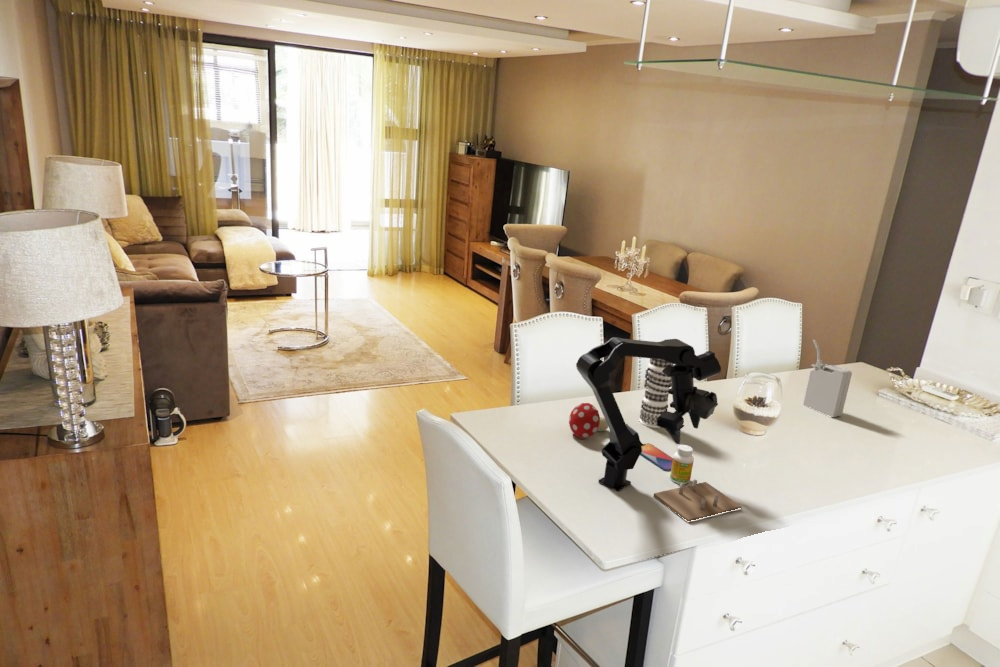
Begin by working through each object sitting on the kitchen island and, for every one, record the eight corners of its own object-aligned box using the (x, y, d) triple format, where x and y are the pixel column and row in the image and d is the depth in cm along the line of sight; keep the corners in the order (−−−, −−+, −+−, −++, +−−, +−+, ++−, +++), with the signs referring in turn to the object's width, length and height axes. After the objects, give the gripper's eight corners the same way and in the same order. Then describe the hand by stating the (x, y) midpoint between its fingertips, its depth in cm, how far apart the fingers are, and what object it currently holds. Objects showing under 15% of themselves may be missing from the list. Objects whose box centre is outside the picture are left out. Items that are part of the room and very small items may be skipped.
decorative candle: (669, 429, 215) (681, 356, 208) (640, 427, 215) (651, 354, 208) (663, 418, 224) (674, 347, 217) (635, 415, 224) (646, 345, 217)
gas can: (796, 402, 249) (810, 338, 242) (805, 400, 251) (820, 337, 244) (832, 418, 236) (848, 351, 229) (841, 416, 238) (857, 350, 231)
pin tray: (687, 523, 162) (690, 508, 161) (653, 496, 173) (655, 483, 172) (741, 509, 170) (744, 495, 169) (705, 485, 181) (707, 472, 180)
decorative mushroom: (610, 401, 212) (581, 393, 202) (625, 430, 205) (595, 423, 195) (587, 420, 217) (556, 414, 207) (600, 449, 210) (570, 444, 200)
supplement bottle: (676, 485, 180) (681, 453, 177) (666, 475, 185) (671, 443, 182) (693, 484, 181) (699, 451, 178) (683, 474, 186) (688, 443, 183)
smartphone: (664, 473, 187) (665, 470, 187) (630, 449, 199) (631, 446, 199) (684, 469, 191) (684, 465, 190) (649, 446, 203) (649, 442, 203)
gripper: (690, 408, 165) (695, 461, 170) (728, 376, 176) (731, 427, 182) (652, 398, 173) (658, 449, 178) (690, 368, 184) (694, 417, 189)
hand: (686, 435), depth 182 cm, fingers open, 9 cm apart
